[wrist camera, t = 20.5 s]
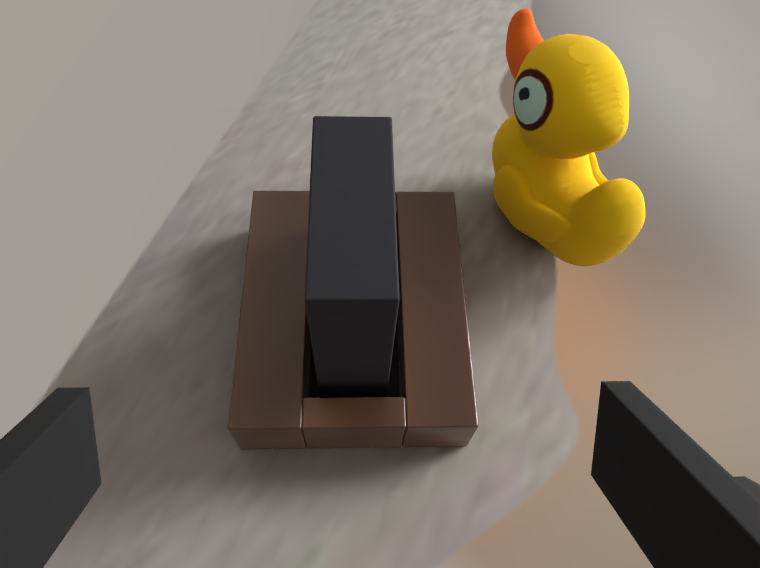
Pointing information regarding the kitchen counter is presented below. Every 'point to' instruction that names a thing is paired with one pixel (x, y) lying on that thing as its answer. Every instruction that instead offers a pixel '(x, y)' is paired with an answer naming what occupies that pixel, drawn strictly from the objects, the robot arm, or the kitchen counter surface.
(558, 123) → the duckling
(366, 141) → the dark grey rectangular block
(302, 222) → the seat base
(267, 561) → the kitchen counter surface
